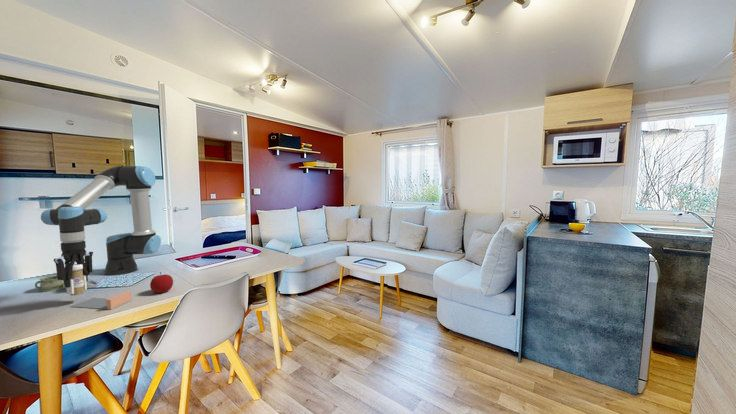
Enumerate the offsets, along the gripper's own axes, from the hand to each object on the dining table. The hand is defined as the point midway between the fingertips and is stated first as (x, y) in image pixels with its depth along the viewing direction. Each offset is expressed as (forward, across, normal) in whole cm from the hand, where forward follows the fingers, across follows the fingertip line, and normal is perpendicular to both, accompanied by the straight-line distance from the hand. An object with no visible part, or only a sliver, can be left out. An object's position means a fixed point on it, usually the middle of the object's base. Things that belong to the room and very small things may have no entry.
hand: (77, 291), depth 122 cm
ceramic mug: (+6, -15, -17) cm, 23 cm away
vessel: (+5, -12, -30) cm, 33 cm away
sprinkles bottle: (+1, 0, 0) cm, 1 cm away
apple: (+5, -16, +27) cm, 32 cm away
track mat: (+5, 0, +12) cm, 13 cm away
